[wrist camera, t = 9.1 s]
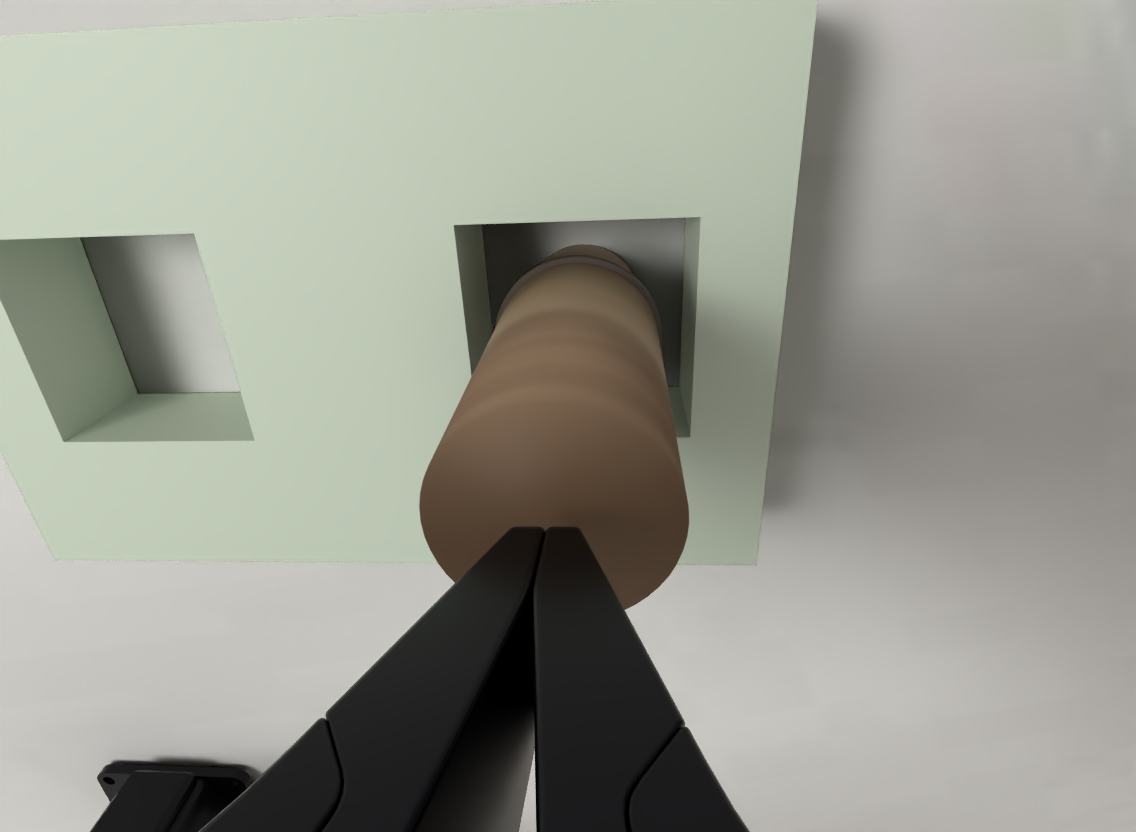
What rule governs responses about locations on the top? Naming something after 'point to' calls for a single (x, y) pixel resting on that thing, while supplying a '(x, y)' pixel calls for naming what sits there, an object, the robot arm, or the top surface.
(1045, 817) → the top surface
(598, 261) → the peg
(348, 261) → the board
